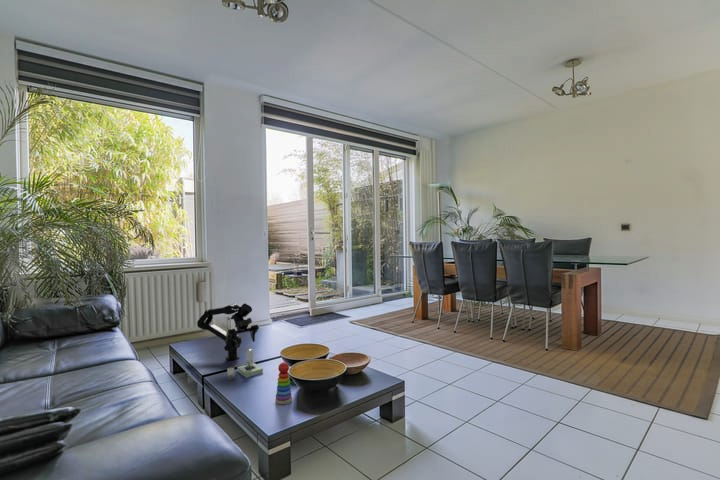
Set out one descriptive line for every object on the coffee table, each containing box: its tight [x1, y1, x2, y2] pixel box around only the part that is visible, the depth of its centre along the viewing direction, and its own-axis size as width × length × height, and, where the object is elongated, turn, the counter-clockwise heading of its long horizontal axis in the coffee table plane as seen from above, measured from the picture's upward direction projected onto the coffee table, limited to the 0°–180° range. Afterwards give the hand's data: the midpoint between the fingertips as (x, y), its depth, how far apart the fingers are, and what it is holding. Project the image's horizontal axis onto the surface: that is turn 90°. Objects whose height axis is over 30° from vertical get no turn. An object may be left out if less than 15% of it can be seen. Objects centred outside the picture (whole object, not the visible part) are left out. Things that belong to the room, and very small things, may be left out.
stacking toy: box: [274, 361, 293, 406], centre depth 175 cm, size 8×8×19 cm
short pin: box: [226, 366, 235, 381], centre depth 201 cm, size 4×4×6 cm
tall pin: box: [245, 348, 254, 370], centre depth 211 cm, size 4×4×13 cm
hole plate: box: [236, 362, 264, 379], centre depth 211 cm, size 12×10×2 cm
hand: (246, 343), depth 220 cm, fingers open, 9 cm apart
